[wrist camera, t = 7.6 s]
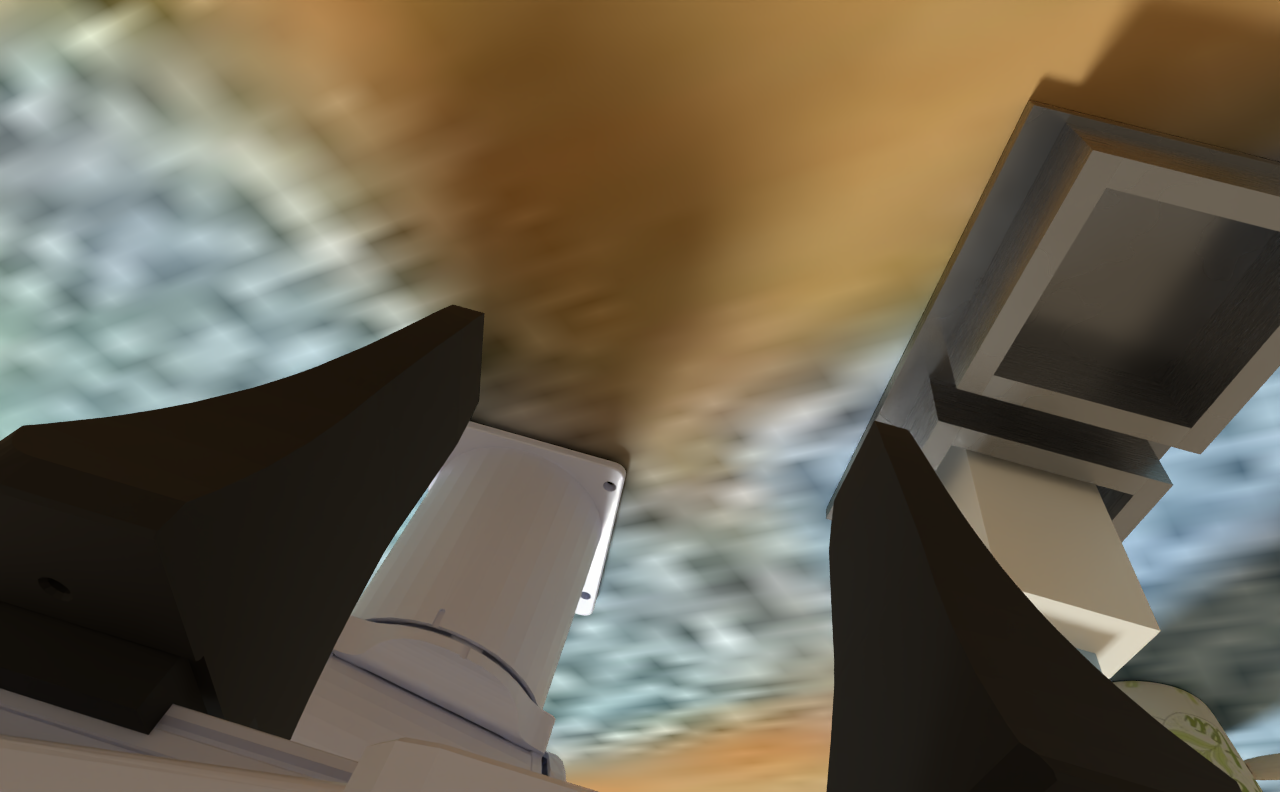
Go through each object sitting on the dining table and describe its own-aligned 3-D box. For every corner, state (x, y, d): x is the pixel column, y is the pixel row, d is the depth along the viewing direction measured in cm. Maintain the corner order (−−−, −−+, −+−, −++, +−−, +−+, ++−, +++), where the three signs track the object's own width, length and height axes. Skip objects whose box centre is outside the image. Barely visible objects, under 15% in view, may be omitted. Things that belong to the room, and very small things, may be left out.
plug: (1017, 532, 26) (1078, 741, 19) (906, 500, 26) (932, 698, 20) (1080, 449, 23) (1173, 659, 17) (957, 416, 23) (1005, 610, 17)
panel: (1050, 572, 27) (1071, 635, 25) (826, 509, 27) (826, 565, 25) (1375, 185, 18) (1453, 230, 16) (1029, 99, 18) (1057, 131, 16)
